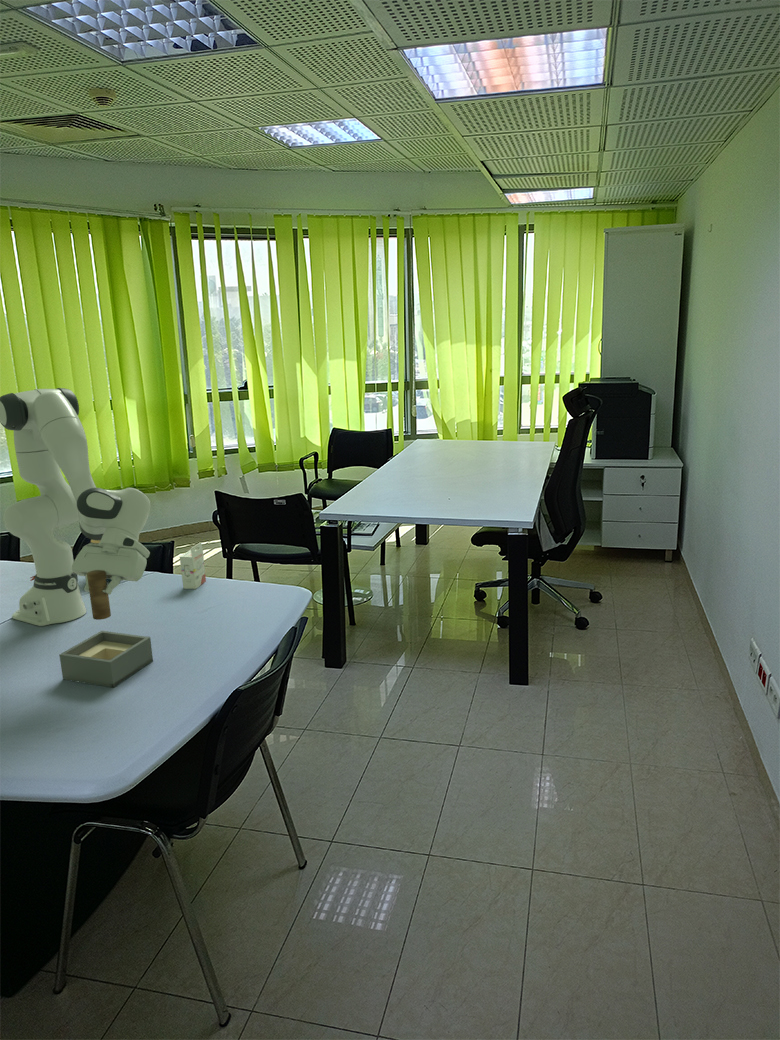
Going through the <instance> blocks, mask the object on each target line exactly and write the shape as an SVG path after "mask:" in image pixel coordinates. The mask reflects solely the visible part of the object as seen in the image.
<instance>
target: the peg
mask: <svg viewBox="0 0 780 1040" xmlns="http://www.w3.org/2000/svg"><path fill="white" fill-rule="evenodd" d="M87 578H88V586H89V592H88V594H89V599H90V606H91V612H92V619H93V620H96V621H97V620H98V621H99V620H100V621H101V620H105V619H108V618H111V615H112V611H111V607H110V606H111V604H110V599H109V594H105V593H103V589H104V586H105V585H106V586H107V585H108V584H107V583H108V581H107V582H106V574H105V571H103V570H94V571H90V572H88V573H87Z"/></svg>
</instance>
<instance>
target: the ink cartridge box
mask: <svg viewBox="0 0 780 1040" xmlns="http://www.w3.org/2000/svg"><path fill="white" fill-rule="evenodd" d="M204 558H205V557H204V549H203V544H202V542H201V541H199V542H198V543H197V544H196V545H194V546H192V547H191V548H190V549H189V550H188V551H186V552H185V553H184V554H182V555H180V556H179V563H180V570H181V579H182V586H183V587H182V588H183V589H184V590H185V589H187V590H197V589H198V588H199V587H200V586H201V585H203V584H204V583H205V582H206V581H207V580H206V579H207V578H206V568H205V559H204Z"/></svg>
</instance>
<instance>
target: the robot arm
mask: <svg viewBox="0 0 780 1040" xmlns="http://www.w3.org/2000/svg"><path fill="white" fill-rule="evenodd" d="M79 414H80V405H79V401H78V398H77V396H76V394H75V392H74V391H72V390H71V389H69V388H63V387H57V388H35V389H33V390H25V391H21V392H15V393H13V392H10V393H7V394H3V395H1V396H0V424H1V426H2V427H4V429H6V430H8V431H13V442H14V450H15V455H16V462H17V468H18V472H19V475H20V477H21V478H22V480H23V481H25V482H27V483H29V484H31V485H35V486H36V487H37V488H38V490H39V493H40V495H37V496H33V497H28V498H25V499H21V500H18V501H16V502H14V503H12V504H10V505H8V506H6V508H5V509H4V512H3V515H2V516H3V517H2V519H3V523H4V527H5V528H6V530H7V531H8V532H9V533H10V534H11V535H13V536H15V537H16V538H19V539H20V540H22V541H24V543H26V545H27V547H28V548H29V551H30V552H31V555H32V559H33V564H34V569H35V575H32V576H30V577H29V579H30V582H32V581H33V585H32V587H31V588H30V589H28V590H27V591H26V592H25V593H24V594H23V595H22V596H21V597H20V598H19V601H18V603H19V604H18V607H19V609H18V610H16V611H15V612H14V613H12V615H11V616H12V617H11V618H12V620H13V619H14V620H16V621H20V622H24V623H27V624H30V625H34V626H38V627H45V626H48V625H53V624H61V623H66V622H71V621H74V620H76V619H78V618H81V617H83V616H84V615H86V613H87V609H86V606H85V602H84V601H83V598H82V594H81V591H80V586H79V584H78V581H79V579H78V578H79V577H78V576H81V577H85V585H84V588H83V590H84V591H85V592H86V593H89V586H88V578H87V573H88V572H90V571H94V570H103V571H105V574H106V578H107V579H111V580H112V581H109V583H108V584H107V586H106V585H105V586H104V589H103V593H105V594H108V595H111V594H112V592H113V590H114V589H115V588H116V587H117V586H118V585H119V584H120V583H121V581H125V582H126V581H127V582H128V581H129V582H138V581H139V580H141V579H142V578H143V575H144V572H145V570H146V567H147V561H148V560H147V559H148V558H149V557H150V555H151V552H150V551H149V549H147V547H146V546H144V545H143V544H142V543H141V542H139V538H140V533H141V532H142V530H143V529H144V528H145V526H146V523H147V520H148V518H149V516H150V512H151V500H150V498H149V497H148V496H147V495H146V494H145V493H144V492H143V491H141V490H139V489H137V488H134V487H126V488H124V489H113V490H112V489H104V488H102V487H97V486H96V483H95V482H94V479H93V476H92V474H91V469H90V460H89V447H88V446H89V445H88V440H87V435H86V432H85V428H84V426H83V424H82V421H81V419H80V418H79ZM62 473H63V474H62ZM64 476H65V477H64ZM78 522H79V529H80V531H81V534H83V535H84V537H86V538H88V539H89V540H100V543H91V542H89V543H88V544H86V545H84V546H82V549H81V550H80V551H79V552H78V554H77V555H76V556H75V559H74V555H73V549H72V547H71V546H70V544H69V543H68V542H66V541H63V540H60V539H56V538H55V535H54V530H58V529H61V528H64V527H68V526H73V525H74V524H76V523H78Z"/></svg>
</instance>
